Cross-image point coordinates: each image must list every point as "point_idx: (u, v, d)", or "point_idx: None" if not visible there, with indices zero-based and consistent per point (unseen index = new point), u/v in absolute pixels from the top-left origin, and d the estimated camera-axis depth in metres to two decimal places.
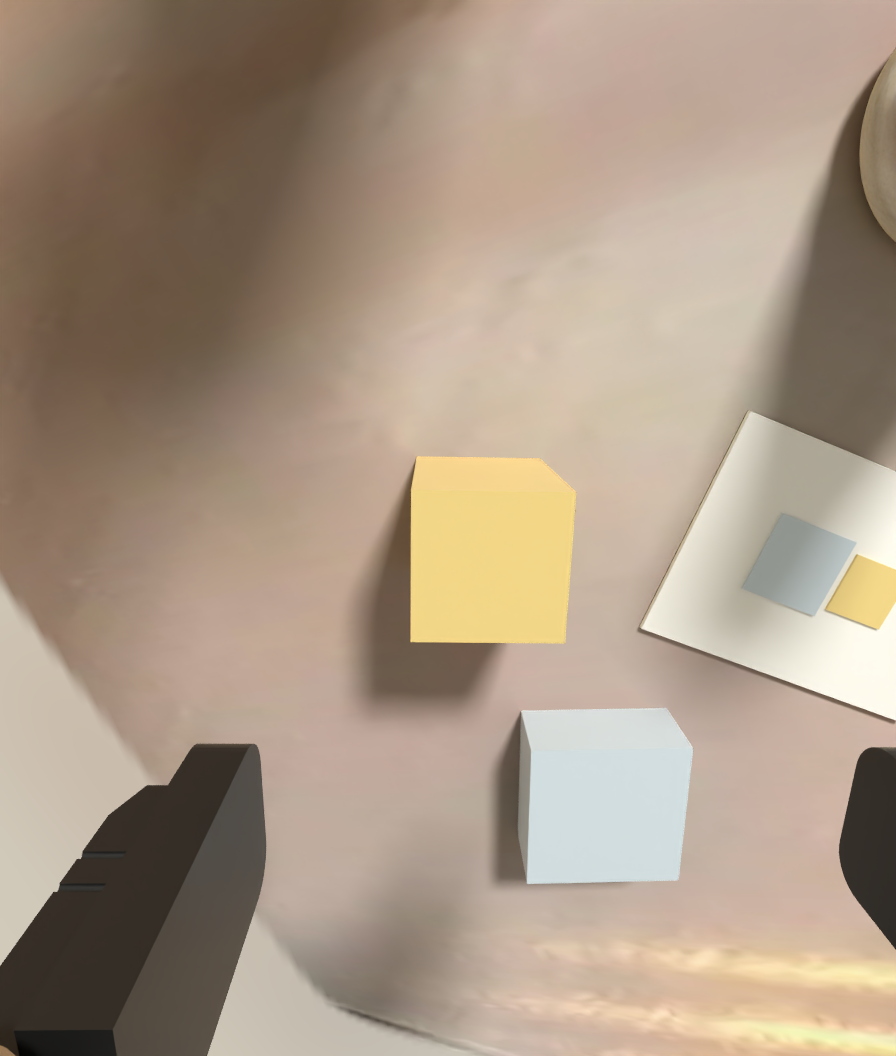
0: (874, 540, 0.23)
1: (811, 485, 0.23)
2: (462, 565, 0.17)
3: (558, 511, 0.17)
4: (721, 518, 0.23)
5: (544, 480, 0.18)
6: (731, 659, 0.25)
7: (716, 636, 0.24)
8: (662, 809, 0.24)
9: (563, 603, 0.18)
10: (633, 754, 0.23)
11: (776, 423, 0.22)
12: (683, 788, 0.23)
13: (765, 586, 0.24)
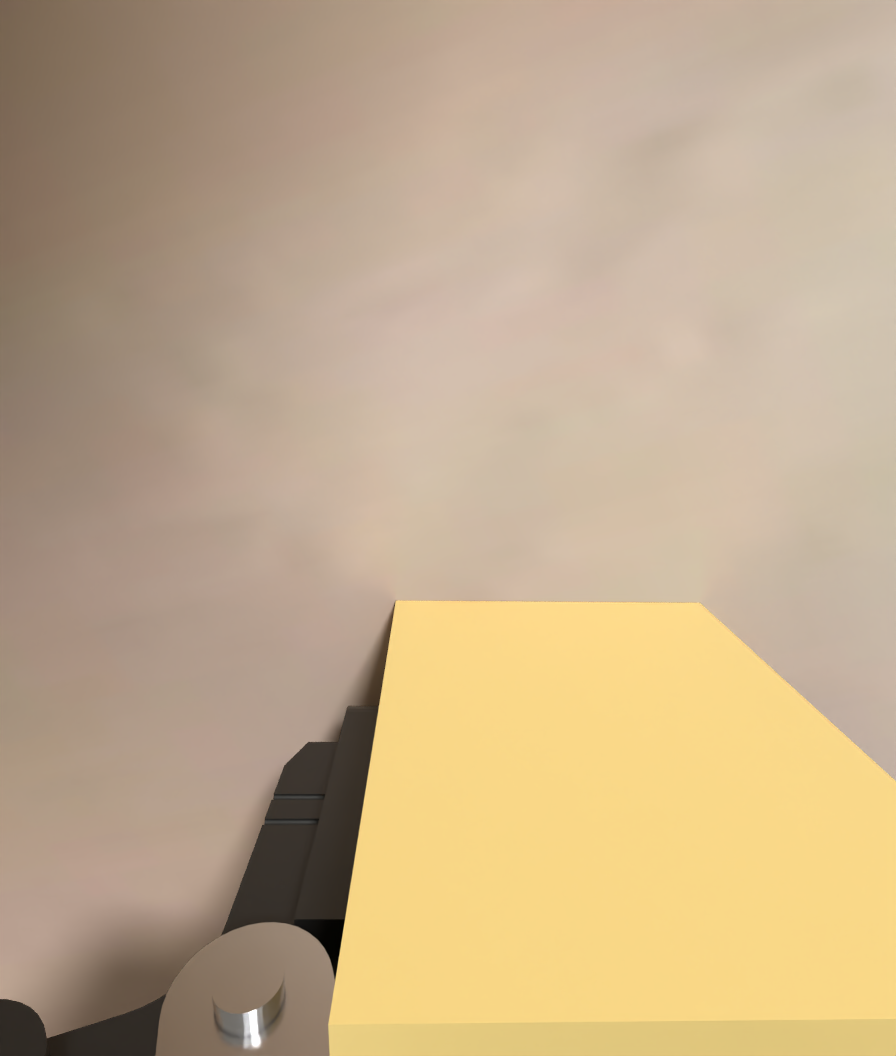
0: None
1: None
2: None
3: None
4: None
5: (854, 809, 0.05)
6: None
7: None
8: None
9: None
10: None
11: None
12: None
13: None
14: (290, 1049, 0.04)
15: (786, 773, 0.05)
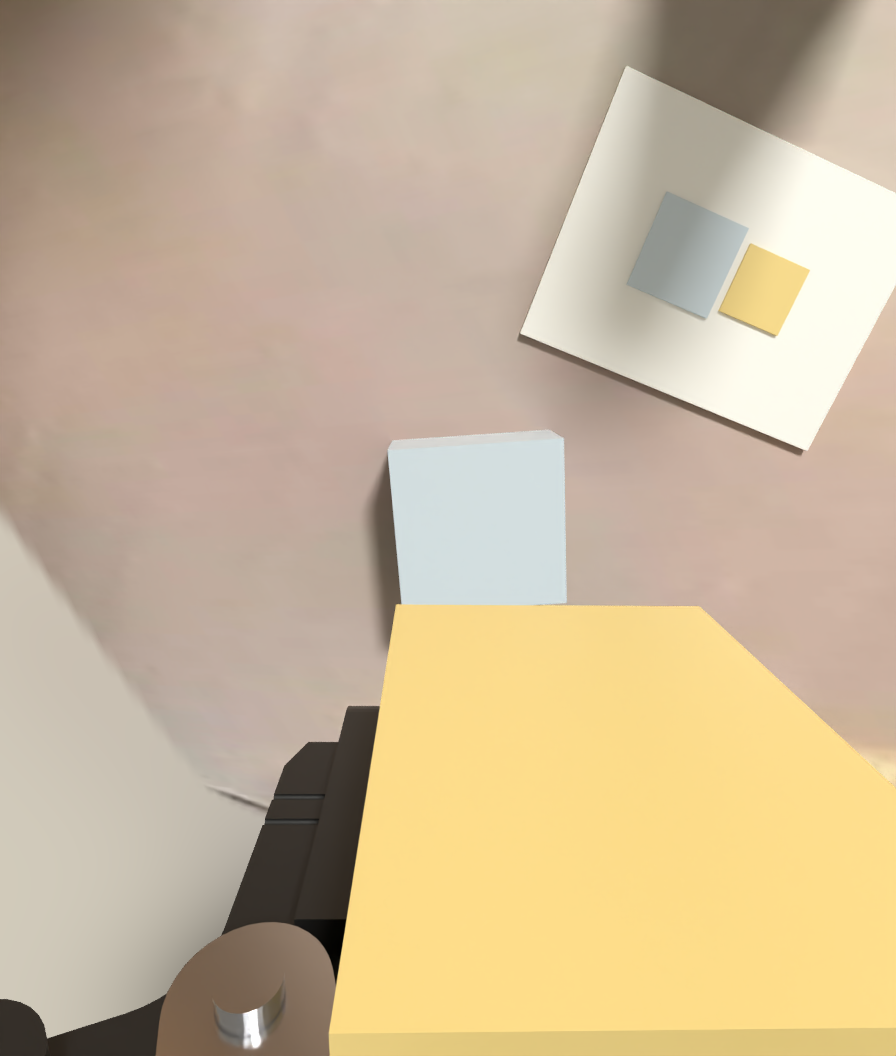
0: (768, 227, 0.22)
1: (697, 158, 0.21)
2: None
3: None
4: (600, 198, 0.21)
5: (854, 815, 0.05)
6: (620, 374, 0.23)
7: (602, 343, 0.23)
8: (539, 516, 0.22)
9: None
10: (499, 449, 0.21)
11: (655, 80, 0.20)
12: (558, 488, 0.21)
13: (651, 280, 0.22)
14: (290, 1049, 0.04)
15: (785, 779, 0.05)
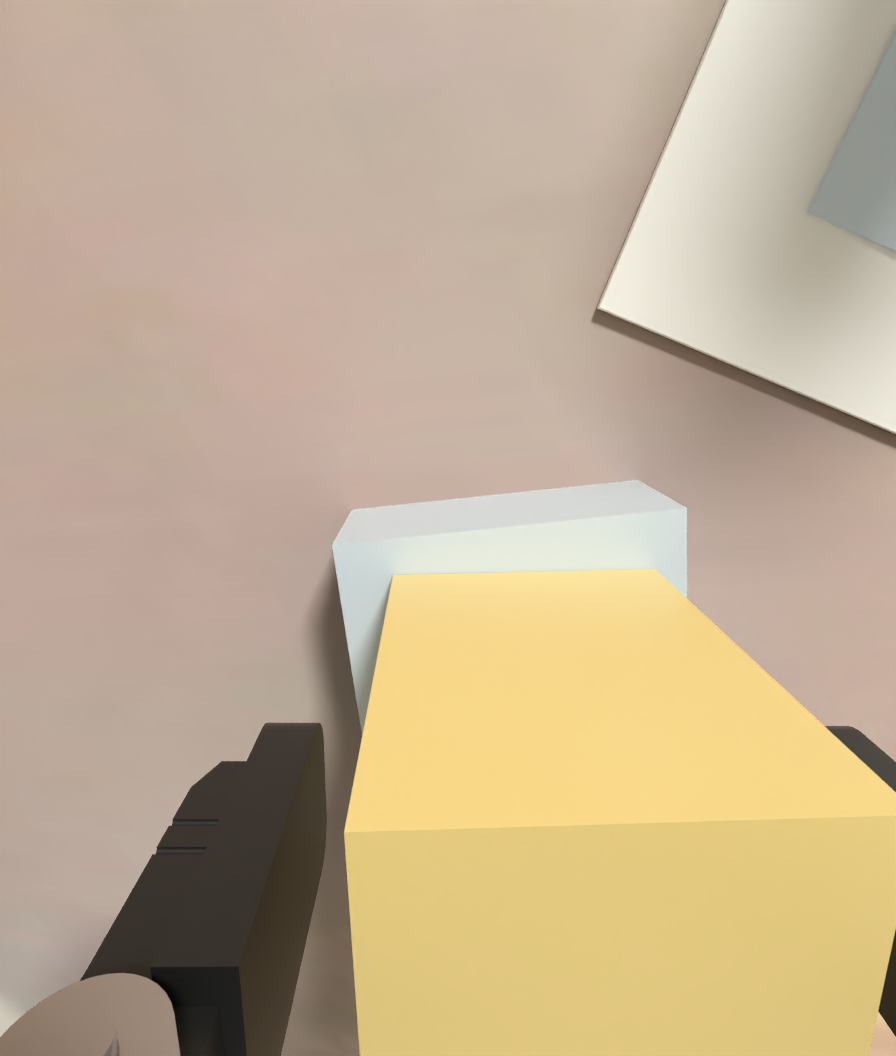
0: None
1: None
2: (527, 1035, 0.05)
3: (854, 875, 0.05)
4: (768, 34, 0.11)
5: (745, 705, 0.06)
6: (782, 385, 0.12)
7: (753, 326, 0.12)
8: None
9: None
10: (556, 535, 0.10)
11: None
12: None
13: (857, 204, 0.11)
14: None
15: (698, 685, 0.07)
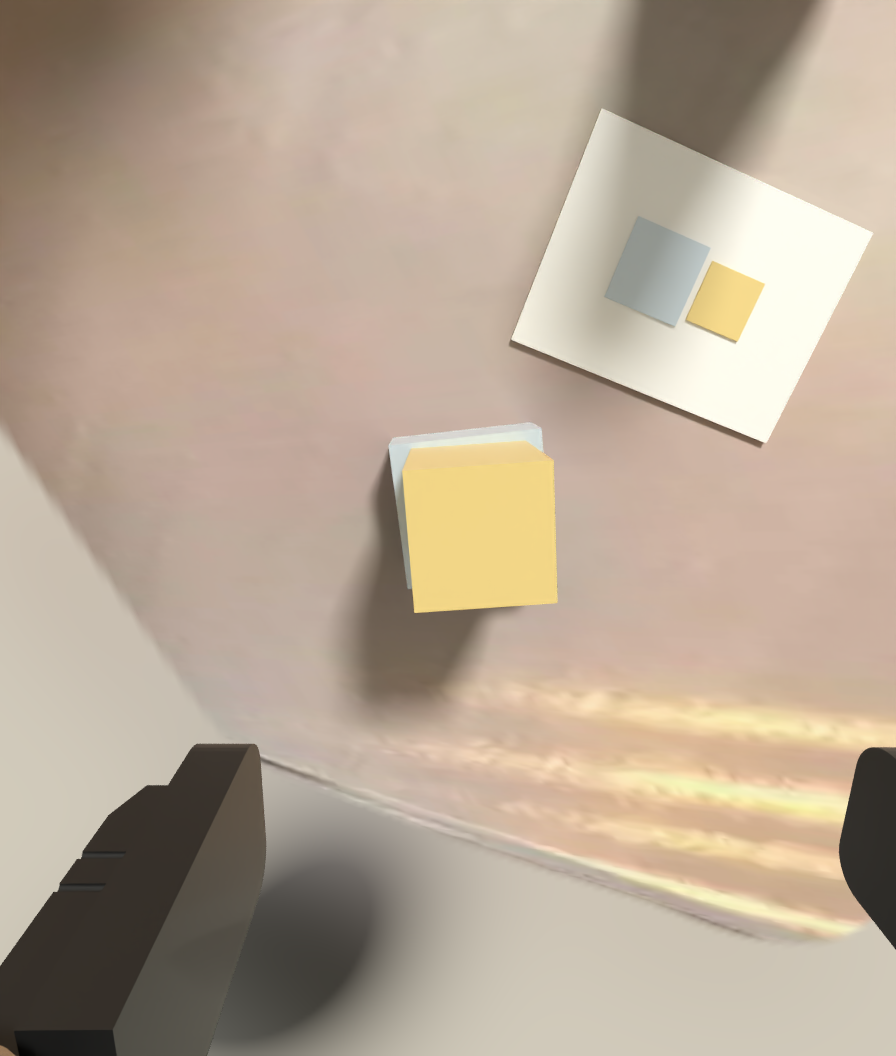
0: (728, 247, 0.25)
1: (664, 187, 0.24)
2: (456, 537, 0.19)
3: (539, 480, 0.18)
4: (581, 221, 0.24)
5: (526, 454, 0.20)
6: None
7: (583, 348, 0.26)
8: None
9: (552, 565, 0.19)
10: (485, 440, 0.24)
11: (627, 121, 0.24)
12: None
13: (626, 293, 0.25)
14: None
15: (515, 454, 0.20)
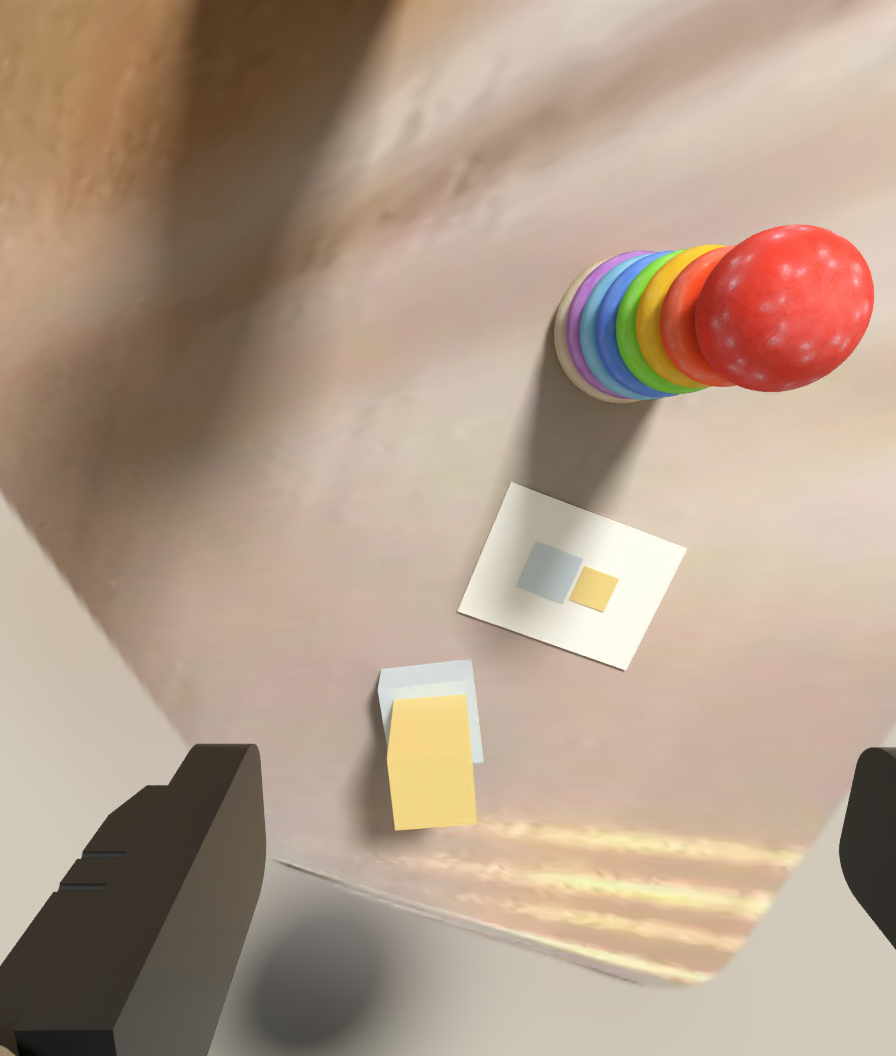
0: (594, 557, 0.39)
1: (552, 525, 0.38)
2: (417, 791, 0.33)
3: (463, 762, 0.33)
4: (500, 544, 0.39)
5: (459, 735, 0.34)
6: (515, 631, 0.40)
7: (504, 615, 0.40)
8: None
9: (473, 804, 0.34)
10: (438, 686, 0.38)
11: (527, 489, 0.38)
12: (473, 704, 0.39)
13: (530, 585, 0.39)
14: None
15: (453, 731, 0.35)
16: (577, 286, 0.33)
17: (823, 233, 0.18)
